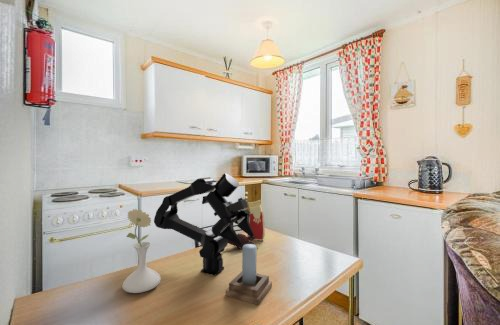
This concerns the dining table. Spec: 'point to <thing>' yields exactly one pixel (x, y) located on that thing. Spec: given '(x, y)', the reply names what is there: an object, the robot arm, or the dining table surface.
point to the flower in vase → (140, 259)
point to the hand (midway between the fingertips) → (247, 240)
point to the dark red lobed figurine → (242, 240)
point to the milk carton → (257, 220)
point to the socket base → (249, 289)
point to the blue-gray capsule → (249, 265)
